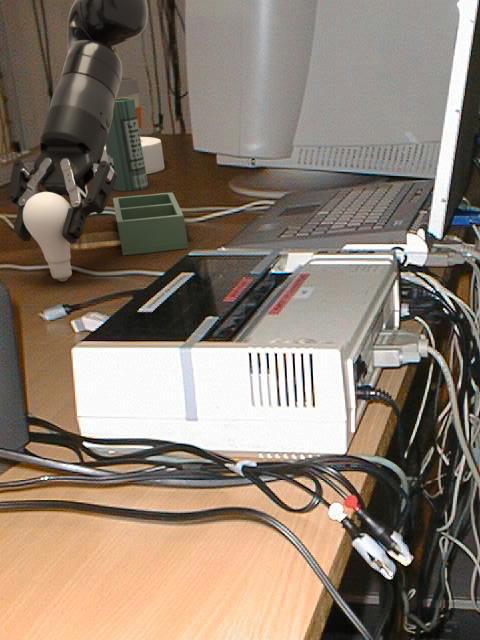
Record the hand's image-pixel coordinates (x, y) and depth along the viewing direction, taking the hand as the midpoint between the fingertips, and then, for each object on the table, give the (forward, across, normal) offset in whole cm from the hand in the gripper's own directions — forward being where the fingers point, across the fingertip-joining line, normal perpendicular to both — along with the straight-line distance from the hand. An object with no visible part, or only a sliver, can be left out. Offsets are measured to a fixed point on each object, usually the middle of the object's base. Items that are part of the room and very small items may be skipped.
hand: (45, 238), depth 112 cm
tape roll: (-48, -34, +57) cm, 82 cm away
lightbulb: (+3, 0, +5) cm, 6 cm away
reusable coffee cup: (-63, -47, +72) cm, 107 cm away
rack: (-13, 0, +21) cm, 25 cm away
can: (-37, -23, +46) cm, 63 cm away
